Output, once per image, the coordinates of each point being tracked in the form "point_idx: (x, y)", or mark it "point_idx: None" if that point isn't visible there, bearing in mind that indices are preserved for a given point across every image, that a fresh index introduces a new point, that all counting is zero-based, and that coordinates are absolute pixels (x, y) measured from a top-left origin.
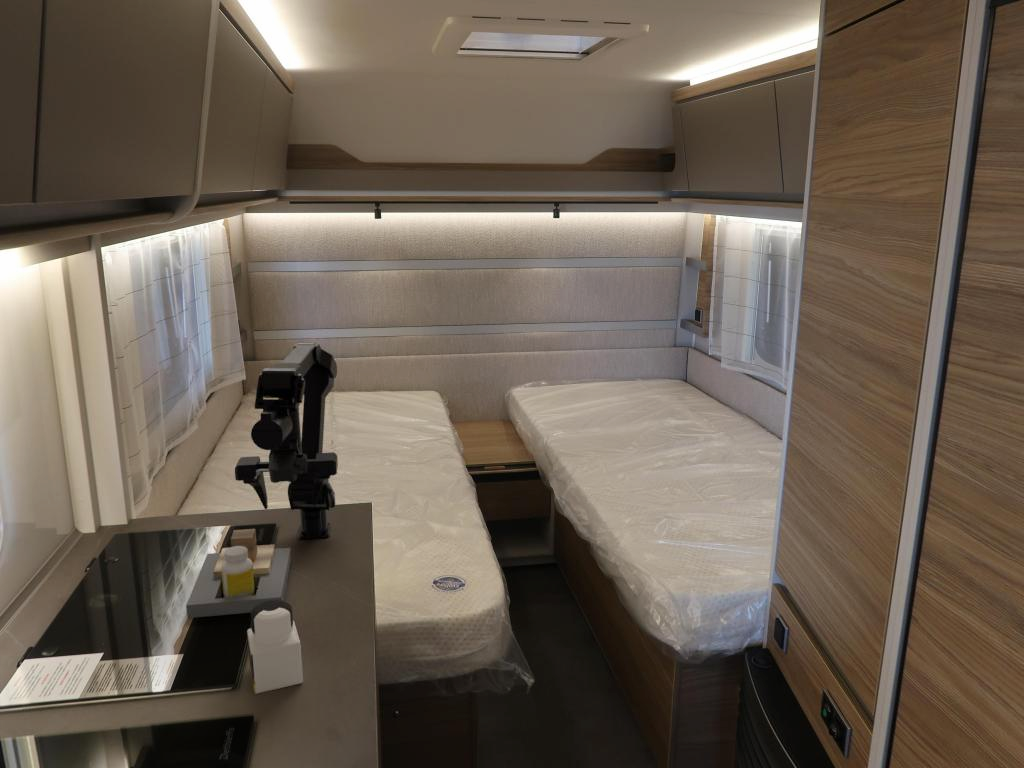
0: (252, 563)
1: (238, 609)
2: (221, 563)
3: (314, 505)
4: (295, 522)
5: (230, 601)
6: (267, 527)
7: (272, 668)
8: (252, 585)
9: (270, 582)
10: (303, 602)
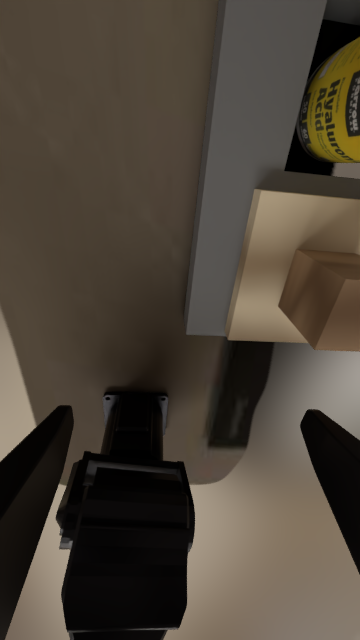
0: (304, 236)
1: None
2: None
3: (63, 406)
4: (173, 447)
5: None
6: (223, 438)
7: None
8: (332, 68)
9: (260, 106)
10: (145, 3)
